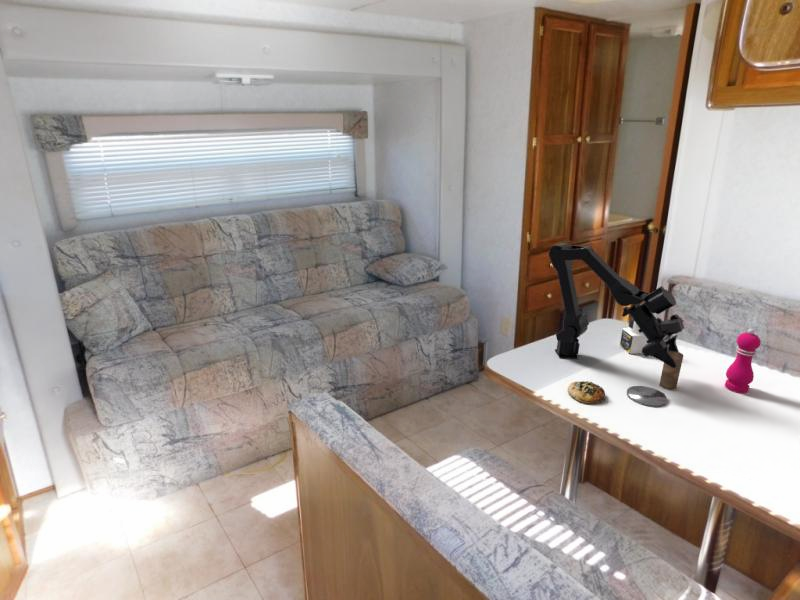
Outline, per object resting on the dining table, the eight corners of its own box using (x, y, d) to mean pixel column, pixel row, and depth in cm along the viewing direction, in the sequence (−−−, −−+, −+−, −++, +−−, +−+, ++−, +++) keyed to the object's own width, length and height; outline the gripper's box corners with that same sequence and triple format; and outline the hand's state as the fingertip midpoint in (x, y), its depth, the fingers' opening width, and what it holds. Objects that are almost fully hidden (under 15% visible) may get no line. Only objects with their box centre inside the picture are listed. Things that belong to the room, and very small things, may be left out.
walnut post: (663, 389, 163) (670, 357, 159) (656, 382, 167) (663, 350, 164) (679, 389, 163) (686, 357, 159) (671, 382, 167) (678, 350, 164)
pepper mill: (748, 385, 166) (764, 326, 160) (751, 396, 160) (768, 335, 153) (721, 380, 169) (736, 322, 162) (724, 390, 163) (739, 330, 156)
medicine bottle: (619, 345, 193) (624, 315, 189) (637, 345, 194) (643, 314, 190) (629, 354, 187) (635, 322, 183) (648, 353, 188) (654, 322, 184)
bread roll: (611, 394, 159) (612, 380, 157) (595, 413, 152) (596, 398, 150) (576, 383, 166) (576, 369, 164) (559, 400, 159) (559, 386, 157)
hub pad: (636, 406, 153) (636, 404, 153) (620, 387, 163) (620, 385, 163) (673, 406, 153) (674, 404, 153) (655, 388, 163) (656, 385, 163)
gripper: (660, 316, 152) (694, 362, 149) (677, 300, 166) (709, 342, 163) (627, 334, 160) (660, 378, 157) (646, 317, 173) (676, 358, 170)
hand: (677, 363), depth 161 cm, fingers open, 6 cm apart
